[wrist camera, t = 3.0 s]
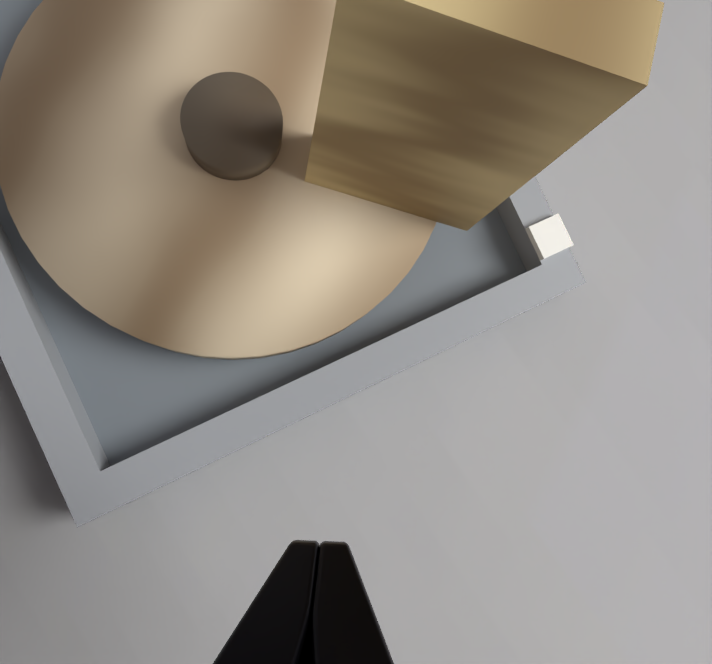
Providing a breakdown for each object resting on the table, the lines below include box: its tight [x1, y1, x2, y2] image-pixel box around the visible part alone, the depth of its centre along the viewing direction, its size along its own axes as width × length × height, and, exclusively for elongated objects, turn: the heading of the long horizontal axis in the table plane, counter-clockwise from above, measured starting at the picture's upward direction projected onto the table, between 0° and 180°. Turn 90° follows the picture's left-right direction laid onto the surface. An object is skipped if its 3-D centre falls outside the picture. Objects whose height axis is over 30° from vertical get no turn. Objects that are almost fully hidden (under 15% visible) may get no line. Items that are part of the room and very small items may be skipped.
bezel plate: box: [0, 0, 586, 527], centre depth 20 cm, size 18×18×2 cm
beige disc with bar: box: [0, 0, 664, 360], centre depth 15 cm, size 15×14×11 cm
